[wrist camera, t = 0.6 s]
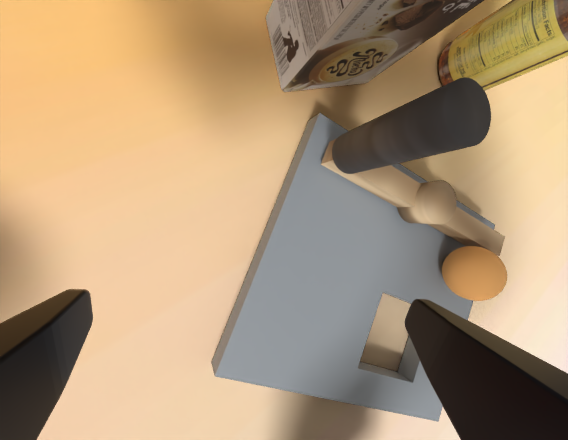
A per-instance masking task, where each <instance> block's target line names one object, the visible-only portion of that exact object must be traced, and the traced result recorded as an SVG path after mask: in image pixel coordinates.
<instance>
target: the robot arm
mask: <svg viewBox="0 0 568 440" xmlns="http://www.w3.org/2000/svg"><path fill="white" fill-rule="evenodd" d="M92 321H93V313H92V305H91V297H90V293H89V291H87V290H84V289H69V290H66V291H64V292H62V293H60V294H58V295H56V296H54V297H52V298H50V299H48V300H46V301H44V302H42V303H40V304H38V305H36V306H34V307H32V308H30V309H28V310H26V311H24V312H22V313H20V314H18V315H16V316H14V317H12V318H10V319H8V320H6V321H4V322H2V323H0V440H37V438H38V436H39V434H40V432H41V431H42V429H43V427H44V425H45V423H46V422H47V420H48V418H49V416H50V414H51V412H52V411H53V409H54V407H55V405H56V403H57V402H58V400H59V398H60V396H61V394H62V392H63V390H64V388H65V386H66V384H67V381H68V379H69V377H70V375H71V372H72V370H73V368H74V365H75V363H76V361H77V358H78V356H79V354H80V351H81V349H82V346H83V344H84V342H85V339H86V337H87V335H88V332H89V330H90V328H91V325H92ZM405 327H406V330H407V332H408V334H409V337H410V339H411V341H412V343H413V346H414V348H415V350H416V353H417V355H418V357H419V360H420V362H421V364H422V367H423V369H424V371H425V373H426V375H427V377H428V379H429V381H430V383H431V385H432V387H433V389H434V391H435V393H436V394H437V396H438V398H439V400H440V402H441V404H442V406H443V407H444V409H445V411H446V413H447V415H448V417H449V419H450V420H451V422H452V424H453V426H454V428H455V430H456V432H457V433H458V435H459V437H460V439H461V440H568V374H567V373H566V372H564V371H562V370H560V369H558V368H556V367H554V366H552V365H551V364H549V363H547V362H545V361H543V360H541V359H539V358H537V357H536V356H534V355H532V354H530V353H528V352H526V351H524V350H522V349H520V348H519V347H517V346H515V345H513V344H511V343H509V342H507V341H505V340H504V339H502V338H500V337H498V336H496V335H494V334H492V333H490V332H489V331H487V330H485V329H483V328H481V327H479V326H477V325H475V324H473V323H472V322H470V321H468V320H466V319H464V318H462V317H460V316H458V315H457V314H455V313H453V312H451V311H449V310H447V309H445V308H443V307H441V306H440V305H438V304H436V303H434V302H432V301H430V300H428V299H415V300H414V301H413V302H412V304H411V306H410V308H409V311H408V313H407V316H406V318H405Z"/></svg>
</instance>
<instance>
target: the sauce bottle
mask: <svg viewBox="0 0 568 440" xmlns="http://www.w3.org/2000/svg"><path fill="white" fill-rule="evenodd" d="M566 56H568V0H512V1H511V2H509V3H508V4H506V5H505V6H503V7H502V8H500V9H499V10H497V11H496V12H494V13H492V14H491V15H489V16H488V17H486V18H485V19H483V20H482V21H480V22H479V23H477V24H476V25H474V26H473V27H471V28H470V29H468V30H467V31H465V32H464V33H462V34H461V35H459V36H458V37H457V38H456V39H455V40H454V41H452V42H450V43H449V44H448V45H447V46H446V47H445V49H444V50H443V51H442V54H441V56H440V59H439V67H438V69H439V75H440V80H441V83H442V85H443V86H444V85H446V84H448V83H451V82H453V81H455V80H457V79H459V78H463V77H467V78H471V79H473V80H475V81H476V82H477V83H478V84H479V85H480V86H481V87H482V88H483V90H484V91H485V90H487V89H490V88H492V87H494V86H497V85H499V84H502V83H504V82H506V81H509V80H511V79H514V78H516V77H518V76H521V75H523V74H525V73H528V72H530V71H533V70H535V69H537V68H540V67H542V66H545V65H547V64H549V63H552V62H554V61H557V60H559V59H561V58H564V57H566Z"/></svg>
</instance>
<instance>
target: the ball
mask: <svg viewBox="0 0 568 440" xmlns="http://www.w3.org/2000/svg"><path fill="white" fill-rule="evenodd" d="M442 276H443V279H444V281H445V283H446V285H447V286H448V288H449V289H450V290H451V291H452V292H454V293H455V294H456V295H458V296H460V297H462V298H465V299H468V300H473V301H483V300H488V299H491V298H493V297H495V296H496V295H498V294H499V293H500V292H501V291H502V290H503V288H504V287H505V285H506V281H507V271H506V268H505V266H504V264H503V262H502V261H501V259H500V258H499V257H498V256H497V255H496V254H494V253H493V252H491V251H489V250H487V249H485V248H482V247H477V246H465V247H461V248H458V249H456V250H454V251H452V252H451V253H450V254H449V255H448V256H447V257H446V258H445V260H444V262H443V265H442Z"/></svg>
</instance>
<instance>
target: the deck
mask: <svg viewBox="0 0 568 440" xmlns="http://www.w3.org/2000/svg"><path fill="white" fill-rule="evenodd" d="M346 132H348V130H346V129H344V128H343V127H341V126H340V125H338V124H337V123H335V122H333V121H332V120H330V119H329V118H327V117H326V116H324V115H322V114H321V113H319V114H317V115H316V116H314V117H313V118H312V119H310V120H309V121H308V123H307V126H306V128H305V131H304V133H303V136H302V138H301V141H300V143H299V146H298V148H297V151H296V153H295V156H294V158H293V161H292V163H291V166H290V168H289V171H288V173H287V176H286V178H285V181H284V183H283V185H282V188H281V190H280V193H279V195H278V198H277V200H276V203H275V205H274V208H273V210H272V213H271V215H270V218H269V220H268V223H267V225H266V228H265V230H264V233H263V235H262V238H261V240H260V243H259V245H258V248H257V250H256V253H255V255H254V258H253V260H252V263H251V265H250V268H249V270H248V272H247V275H246V277H245V280H244V282H243V285H242V287H241V290H240V292H239V295H238V297H237V300H236V302H235V305H234V307H233V310H232V312H231V315H230V317H229V320H228V322H227V325H226V327H225V330H224V332H223V335H222V337H221V340H220V342H219V345H218V347H217V350H216V352H215V354H214V357H213V359H212V362H211V363H212V367H213V371H214V375H215V376H216V377H221V378H226V379H231V380H236V381H241V382H246V383H251V384H256V385H261V386H266V387H270V388H275V389H280V390H285V391H290V392H295V393H300V394H305V395H310V396H315V397H320V398H325V399H330V400H335V401H340V402H345V403H349V404H354V405H359V406H364V407H369V408H374V409H379V410H384V411H389V412H394V413H399V414H404V415H409V416H414V417H419V418H424V419H428V420H433V421H439V417H440V414H441V410H442V407H443V406H442V404H441V402H440V400H439V398H438V396H437V394H436V393H435V391H434V389H433V387H432V385H431V383H430V381H429V379H428V377H427V375H426V373H425V371H424V369H423V367H422V364H421V362H420V360H419V357H418V355H417V353H416V350H415V348H414V346H413V343H412V341H411V339H410V337H408V340H407V343H406V346H405V350H404V353H403V356H402V359H401V362H400V365H399V369H398V372H396V371H392V370H389V369H385V368H381V367H378V366H374V365H370V364H367V363H363V362H360V359H361V356H362V353H363V350H364V347H365V344H366V341H367V338H368V335H369V332H370V329H371V326H372V323H373V320H374V317H375V314H376V311H377V308H378V305H379V302H380V299H381V296H382V293H386V294H388V295H391V296H393V297H396V298H398V299H400V300H403V301H405V302H408V303H410V304H412V302H413V301H414V300H415V299H428V300H430V301H432V302H434V303H436V304H438V305H440V306H441V307H443V308H445V309H447V310H449V311H451V312H453V313H455V314H457V315H458V316H460V317H462V318H464V319H466V320H468V317H469V314H470V310H471V307H472V303H473V300H468V299H465V298H462V297H460V296H458V295H456V294H455V293H454V292H452V291H451V290H450V289H449V288H448V286H447V285H446V283H445V281H444V279H443V276H442V265H443V262H444V260H445V258H446V257H447V256H448V255H449V254H450V253H451V252H452V251H454V250H456V249H458V248H461V247H465V245H463V244H462V243H460V242H458V241H456V240H455V239H453V238H451V237H449V236H447V235H446V234H444V233H442V232H440V231H439V230H437V229H435V228H433V227H431V226H430V225H428V224H417V223H408V222H406V221H404V220H403V219H402V218H401V216H400V215H399V213H398V209H397V207H396V206H394V205H392V204H390V203H389V202H387V201H385V200H383V199H382V198H380V197H378V196H376V195H374V194H373V193H371V192H369V191H367V190H365V189H364V188H362V187H360V186H358V185H357V184H355V183H353V182H351V181H349V180H348V179H346V178H344V177H342V176H341V175H339V174H337V173H335V172H333V171H332V170H330V169H328V168H326V167H324V166H323V165H321V162H322V159H323V157H324V154H325V152H326V149H327V147H328V144H329V142H330V141H332V140H335V139H337V138H338V137H339V136H340V135H342V134H344V133H346ZM391 166H393V167H395V168H396V169H398V170H399V171H401V172H403V173H404V174H406V175H407V176H409V177H410V178H412V179H414V180H415V181H417V182H418V183H425V182H427V181H426V180H424V179H423V178H421V177H419V176H418V175H416V174H415V173H413V172H412V171H410V170H408V169H407V168H405V167H404V166H402V165H401V164H399V163H397V164H393V165H391ZM456 206H457V207H458V208H460V209H461V210H463V211H465V212H466V213H468V214H469V215H471V216H473V217H474V218H476V219H477V220H479V221H481V222H482V223H484V224H485V225H487V226H489V227H490V228H492V229H493V230H494V227H495V225H494V224H493V223H491V222H490V221H488V220H487V219H485V218H484V217H482V216H480V215H479V214H477V213H476V212H474V211H473V210H471V209H469V208H468V207H466V206H465V205H463V204H462V203H460V202H459V201H457V200H456Z"/></svg>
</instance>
